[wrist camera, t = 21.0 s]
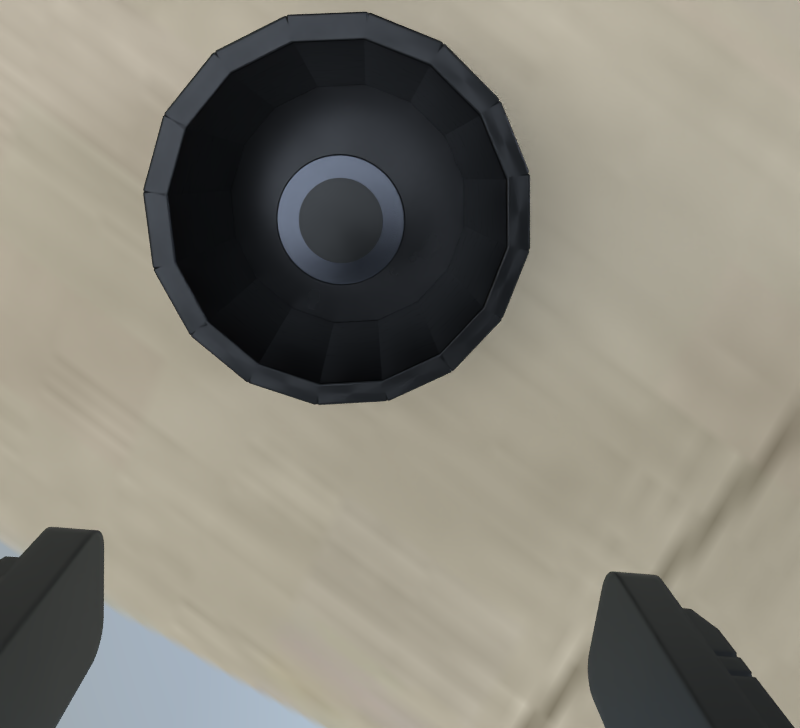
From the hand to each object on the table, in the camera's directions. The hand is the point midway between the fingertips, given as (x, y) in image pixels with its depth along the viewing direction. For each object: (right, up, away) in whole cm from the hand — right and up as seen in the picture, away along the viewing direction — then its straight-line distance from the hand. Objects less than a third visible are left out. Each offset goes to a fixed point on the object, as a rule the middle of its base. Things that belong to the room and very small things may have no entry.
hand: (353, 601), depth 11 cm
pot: (-2, +11, +23) cm, 26 cm away
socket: (-2, +11, +23) cm, 26 cm away
